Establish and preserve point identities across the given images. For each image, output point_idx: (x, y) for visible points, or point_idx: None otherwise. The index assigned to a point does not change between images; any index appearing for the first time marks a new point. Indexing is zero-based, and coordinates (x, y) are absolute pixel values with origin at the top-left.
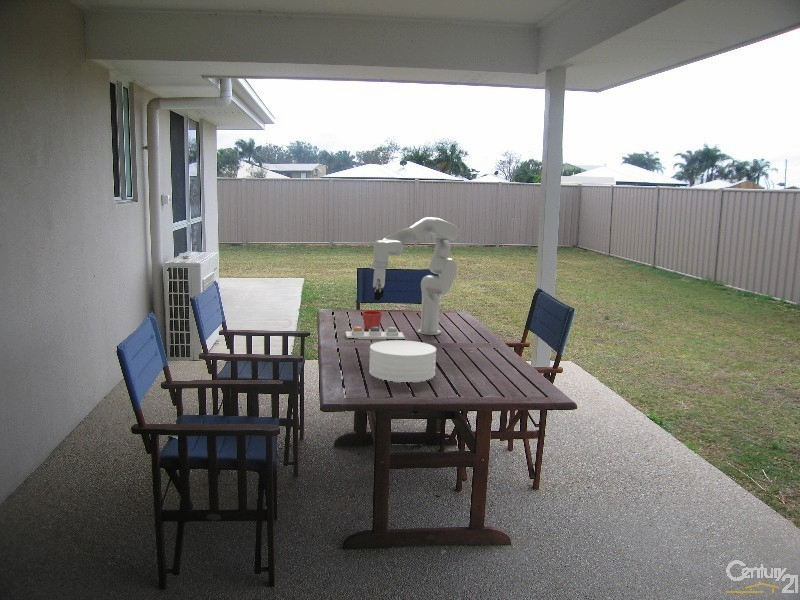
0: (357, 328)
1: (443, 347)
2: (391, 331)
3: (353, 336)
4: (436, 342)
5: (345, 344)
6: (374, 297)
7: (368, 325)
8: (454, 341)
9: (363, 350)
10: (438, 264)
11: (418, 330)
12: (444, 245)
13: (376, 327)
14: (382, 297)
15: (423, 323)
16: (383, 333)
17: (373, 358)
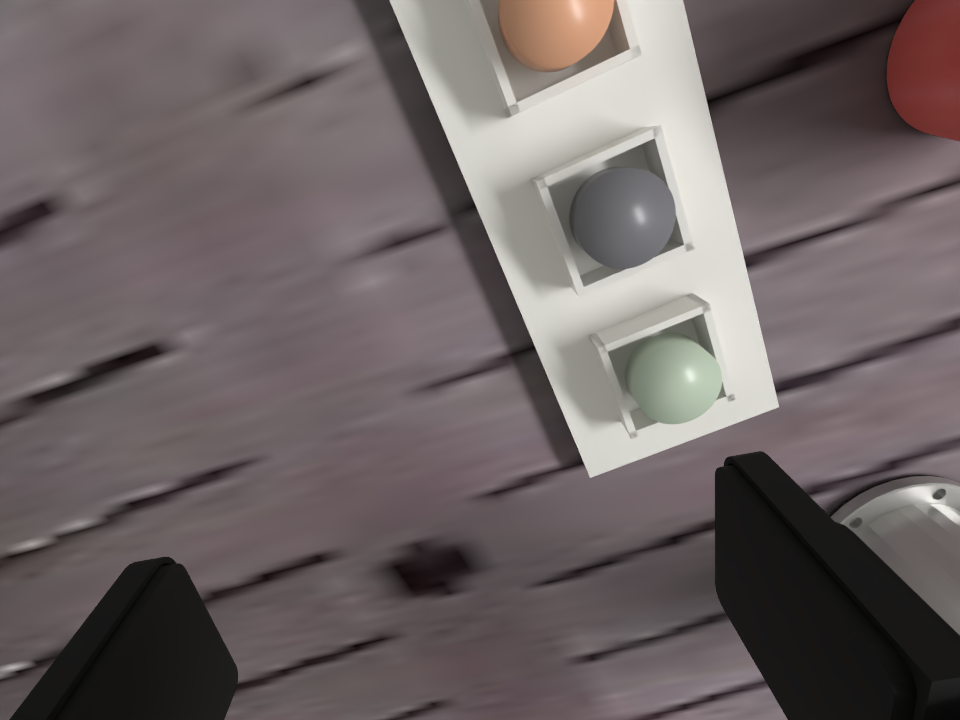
0: (502, 18)
1: (460, 702)
2: (627, 380)
3: (398, 21)
4: (583, 647)
5: (119, 40)
6: (94, 613)
7: (930, 24)
8: (654, 714)
9: (24, 296)
10: None
11: (898, 494)
12: None
13: (635, 234)
14: (721, 581)
15: (909, 584)
16: (664, 281)
17: None
